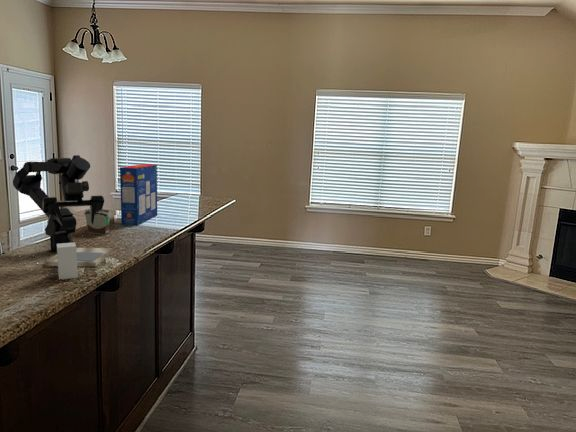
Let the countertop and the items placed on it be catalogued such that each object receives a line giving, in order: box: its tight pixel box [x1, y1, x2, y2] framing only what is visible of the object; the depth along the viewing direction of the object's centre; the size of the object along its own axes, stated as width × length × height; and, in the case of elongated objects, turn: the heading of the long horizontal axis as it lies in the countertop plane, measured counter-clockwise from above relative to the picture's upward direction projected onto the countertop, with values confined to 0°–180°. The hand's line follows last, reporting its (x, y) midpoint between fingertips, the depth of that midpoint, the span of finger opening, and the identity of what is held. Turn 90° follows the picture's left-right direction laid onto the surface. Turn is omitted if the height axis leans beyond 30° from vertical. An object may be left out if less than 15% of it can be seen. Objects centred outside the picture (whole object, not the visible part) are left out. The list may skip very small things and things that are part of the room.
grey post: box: [56, 242, 79, 281], centre depth 129 cm, size 5×5×10 cm
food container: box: [83, 209, 112, 236], centre depth 187 cm, size 12×6×10 cm, turn 74°
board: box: [44, 247, 113, 267], centre depth 148 cm, size 16×18×2 cm
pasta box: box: [119, 163, 158, 227], centre depth 216 cm, size 28×8×28 cm, turn 178°
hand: (77, 224), depth 141 cm, fingers open, 9 cm apart
